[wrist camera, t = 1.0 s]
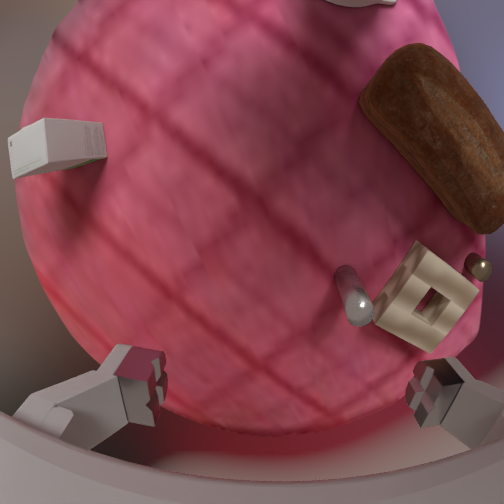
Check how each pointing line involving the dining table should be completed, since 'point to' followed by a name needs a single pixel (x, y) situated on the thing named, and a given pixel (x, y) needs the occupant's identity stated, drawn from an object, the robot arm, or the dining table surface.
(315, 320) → the dining table surface
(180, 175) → the dining table surface
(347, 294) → the tall steel pin
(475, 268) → the short bronze pin
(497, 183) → the bread
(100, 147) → the skincare box
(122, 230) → the dining table surface
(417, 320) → the birch block
